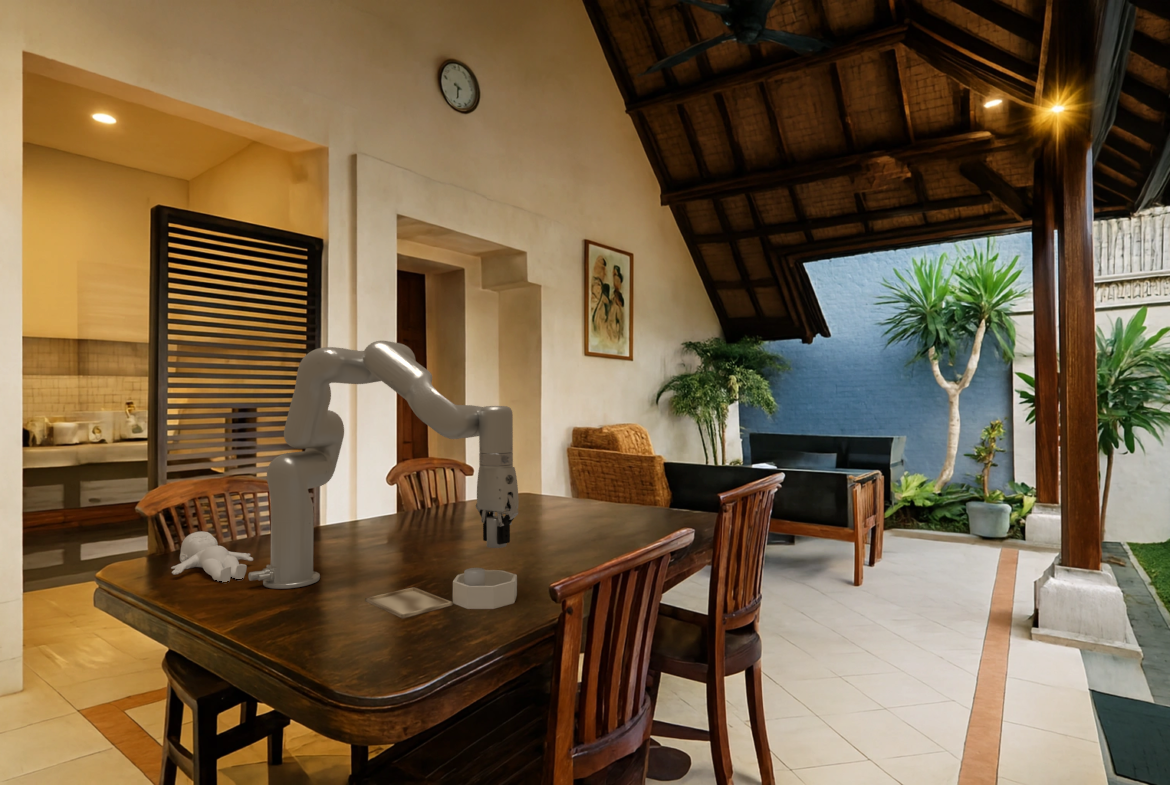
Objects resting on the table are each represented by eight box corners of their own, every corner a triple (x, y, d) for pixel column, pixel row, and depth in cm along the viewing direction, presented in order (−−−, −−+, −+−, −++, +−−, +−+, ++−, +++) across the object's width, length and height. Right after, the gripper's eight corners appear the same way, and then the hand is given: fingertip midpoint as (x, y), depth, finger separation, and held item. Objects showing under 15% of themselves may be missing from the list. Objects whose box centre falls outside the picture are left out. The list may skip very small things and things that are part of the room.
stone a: (489, 598, 141) (488, 569, 141) (475, 604, 137) (475, 574, 137) (474, 595, 143) (473, 566, 143) (460, 600, 140) (460, 571, 139)
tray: (402, 620, 129) (402, 615, 129) (365, 602, 141) (365, 598, 141) (452, 606, 138) (452, 602, 138) (413, 591, 149) (413, 587, 149)
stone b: (510, 545, 144) (510, 517, 145) (494, 548, 141) (494, 519, 141) (498, 542, 147) (498, 515, 148) (482, 546, 144) (482, 517, 144)
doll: (191, 566, 150) (152, 532, 169) (189, 603, 150) (150, 566, 170) (275, 551, 164) (230, 522, 184) (272, 586, 165) (228, 553, 185)
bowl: (478, 614, 133) (478, 590, 133) (442, 600, 142) (442, 578, 142) (528, 600, 142) (528, 578, 142) (491, 588, 152) (491, 567, 152)
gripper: (533, 461, 141) (533, 544, 141) (487, 457, 153) (487, 534, 153) (506, 464, 136) (506, 550, 136) (460, 459, 148) (460, 539, 148)
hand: (496, 540), depth 144 cm, fingers closed on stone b, 4 cm apart
